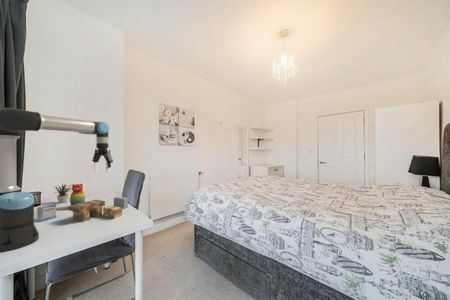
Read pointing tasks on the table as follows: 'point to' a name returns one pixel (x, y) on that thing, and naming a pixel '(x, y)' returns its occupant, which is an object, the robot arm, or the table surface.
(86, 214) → the bed
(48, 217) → the medicine box
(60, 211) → the table surface
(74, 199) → the stacking bear
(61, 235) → the table surface
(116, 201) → the block
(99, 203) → the slab
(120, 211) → the skid
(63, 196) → the house plant
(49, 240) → the table surface
